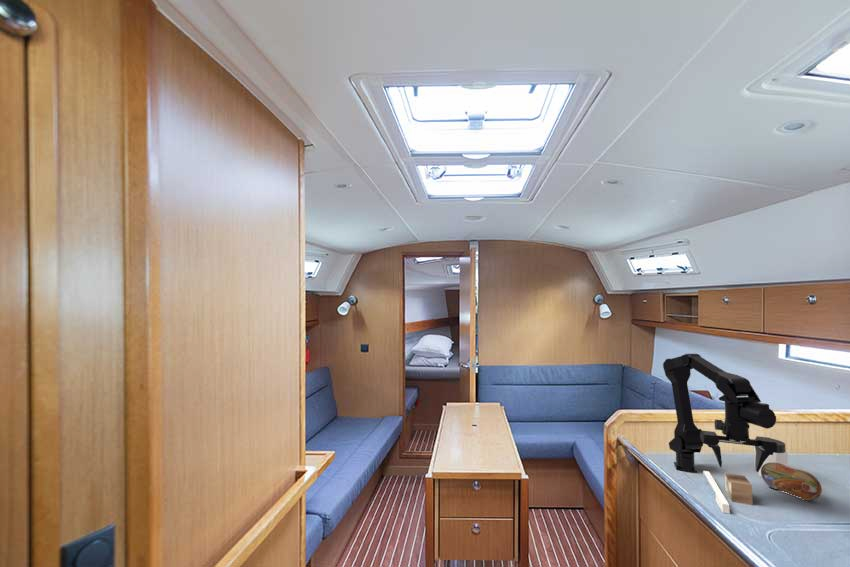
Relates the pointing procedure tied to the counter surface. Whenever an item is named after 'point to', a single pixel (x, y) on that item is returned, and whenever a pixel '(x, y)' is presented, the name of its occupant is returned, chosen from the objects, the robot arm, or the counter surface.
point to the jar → (775, 456)
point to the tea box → (738, 488)
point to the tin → (791, 481)
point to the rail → (716, 492)
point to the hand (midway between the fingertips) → (738, 469)
